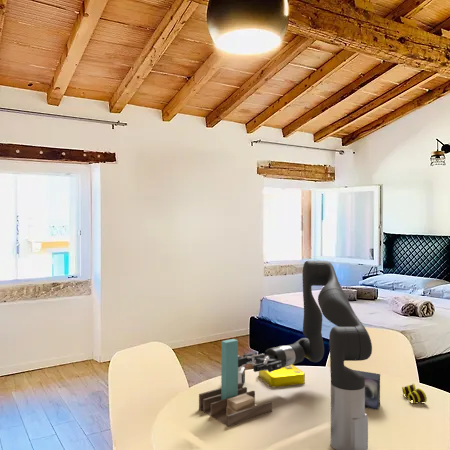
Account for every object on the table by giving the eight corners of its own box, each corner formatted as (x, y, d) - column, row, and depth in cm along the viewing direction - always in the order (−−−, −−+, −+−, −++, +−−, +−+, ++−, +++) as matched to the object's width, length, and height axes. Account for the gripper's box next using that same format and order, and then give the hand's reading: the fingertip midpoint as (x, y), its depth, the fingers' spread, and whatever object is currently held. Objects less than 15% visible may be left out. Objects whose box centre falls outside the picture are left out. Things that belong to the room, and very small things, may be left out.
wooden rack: (272, 416, 142) (272, 395, 142) (228, 431, 131) (228, 409, 131) (240, 400, 155) (240, 382, 155) (198, 413, 144) (198, 393, 144)
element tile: (257, 376, 182) (257, 364, 182) (289, 372, 187) (289, 361, 187) (271, 388, 168) (271, 376, 168) (306, 384, 172) (306, 372, 172)
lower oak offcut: (257, 412, 141) (257, 405, 141) (236, 420, 136) (236, 412, 136) (247, 407, 145) (247, 400, 145) (226, 414, 140) (226, 406, 140)
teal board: (237, 406, 146) (238, 340, 146) (225, 410, 143) (226, 342, 143) (233, 404, 148) (233, 338, 148) (221, 407, 145) (221, 341, 145)
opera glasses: (402, 397, 161) (399, 383, 161) (416, 394, 161) (413, 380, 162) (413, 407, 152) (410, 393, 152) (428, 404, 152) (425, 390, 152)
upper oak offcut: (254, 405, 141) (254, 397, 141) (236, 411, 136) (236, 403, 136) (245, 401, 144) (245, 393, 144) (227, 407, 140) (227, 399, 140)
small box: (345, 404, 152) (345, 374, 152) (349, 398, 158) (349, 368, 158) (377, 410, 147) (377, 379, 147) (380, 403, 153) (380, 373, 153)
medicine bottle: (242, 392, 163) (242, 359, 163) (223, 390, 165) (223, 358, 165) (245, 385, 170) (245, 354, 170) (226, 383, 172) (227, 353, 172)
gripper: (266, 342, 165) (232, 349, 156) (294, 351, 154) (259, 359, 144) (266, 362, 165) (232, 371, 156) (294, 372, 154) (259, 382, 144)
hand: (245, 365), depth 150 cm, fingers open, 8 cm apart
